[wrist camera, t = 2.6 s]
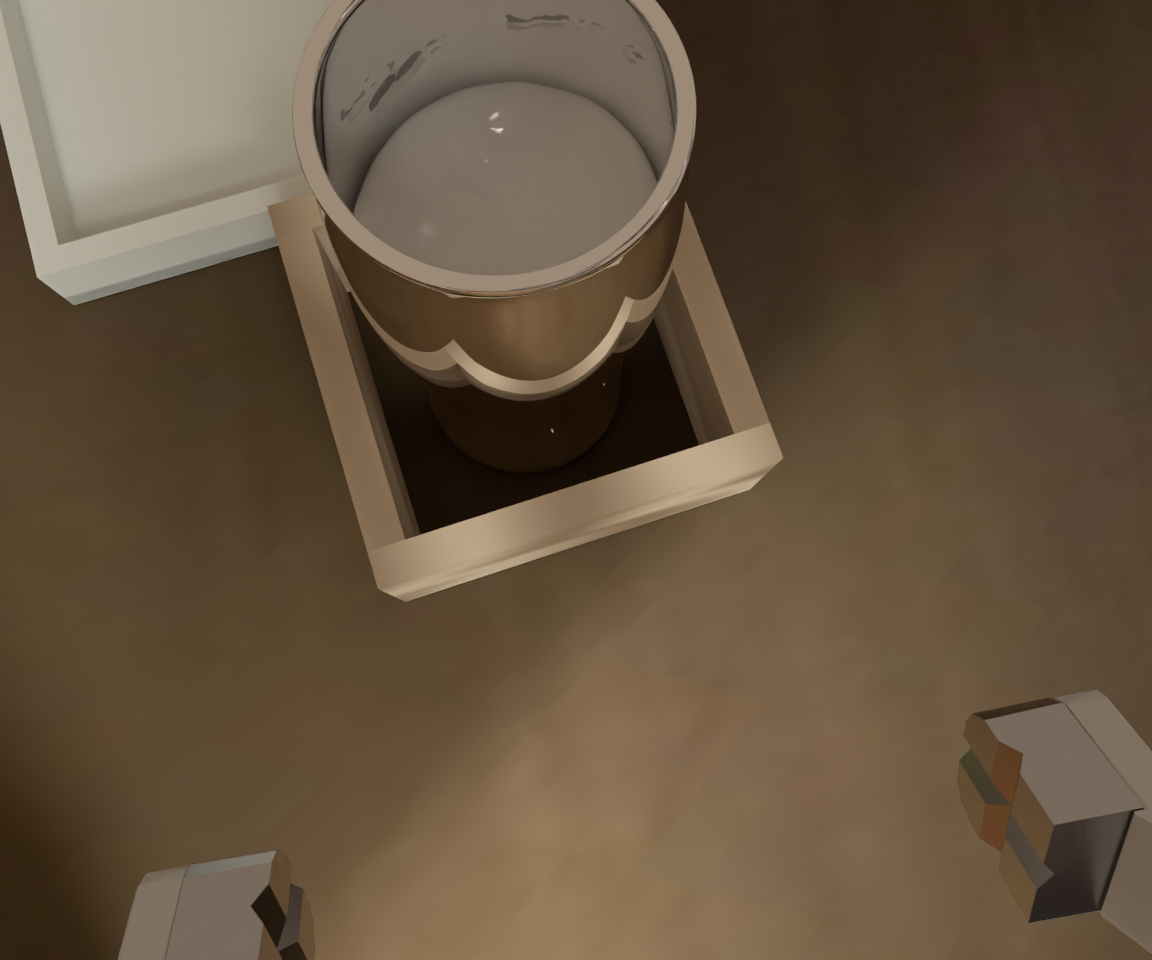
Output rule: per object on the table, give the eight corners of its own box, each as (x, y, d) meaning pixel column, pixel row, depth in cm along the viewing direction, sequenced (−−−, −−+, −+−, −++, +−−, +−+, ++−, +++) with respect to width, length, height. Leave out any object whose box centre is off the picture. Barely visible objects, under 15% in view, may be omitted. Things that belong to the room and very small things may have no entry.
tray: (371, -154, 34) (359, -210, 32) (486, 185, 31) (480, 149, 29) (-14, -54, 33) (-54, -105, 31) (74, 305, 30) (37, 277, 28)
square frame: (633, 177, 32) (646, 96, 27) (749, 489, 30) (783, 457, 25) (308, 273, 31) (266, 205, 26) (405, 601, 29) (378, 589, 24)
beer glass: (375, 430, 30) (197, 195, 15) (474, 241, 31) (399, -146, 16) (578, 525, 29) (601, 378, 15) (670, 329, 31) (776, 12, 16)
